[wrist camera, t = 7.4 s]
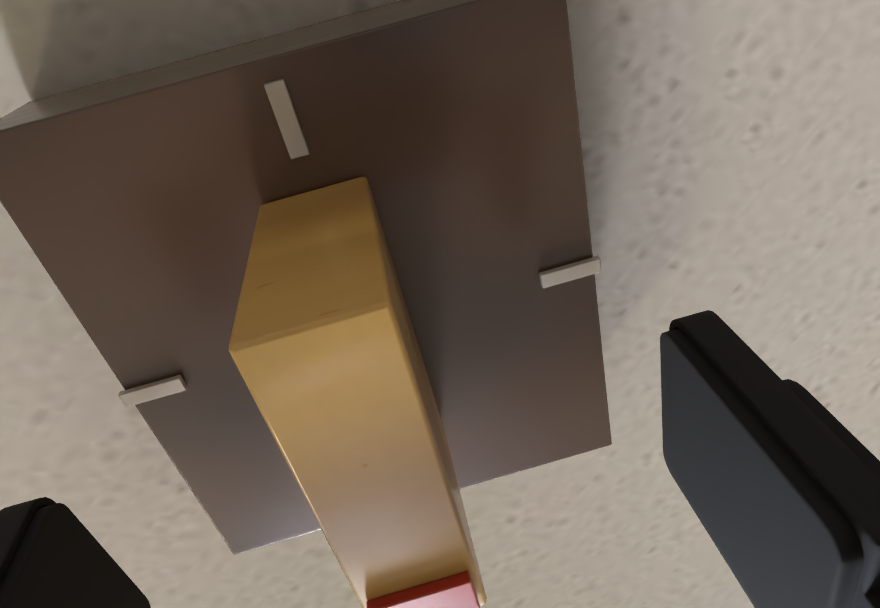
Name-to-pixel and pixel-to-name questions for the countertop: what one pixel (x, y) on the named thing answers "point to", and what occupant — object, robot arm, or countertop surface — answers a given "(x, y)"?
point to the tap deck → (313, 167)
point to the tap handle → (353, 399)
